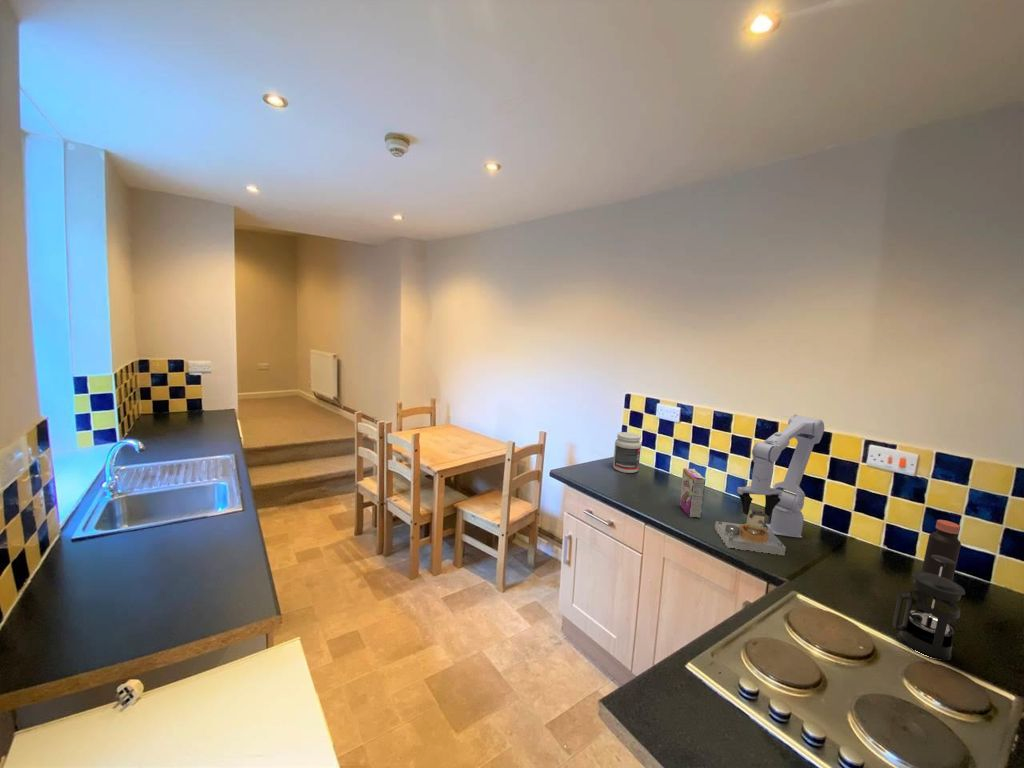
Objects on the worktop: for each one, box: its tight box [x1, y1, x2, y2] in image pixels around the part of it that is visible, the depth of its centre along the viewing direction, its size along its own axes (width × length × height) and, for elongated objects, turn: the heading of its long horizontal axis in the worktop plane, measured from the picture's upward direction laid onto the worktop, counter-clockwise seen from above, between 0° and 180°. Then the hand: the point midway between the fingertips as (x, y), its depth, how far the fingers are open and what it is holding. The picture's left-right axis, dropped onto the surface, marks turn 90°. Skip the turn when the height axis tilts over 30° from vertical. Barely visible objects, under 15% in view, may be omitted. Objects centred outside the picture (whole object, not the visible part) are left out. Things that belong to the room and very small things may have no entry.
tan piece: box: [745, 508, 767, 535], centre depth 148 cm, size 5×8×8 cm, turn 3°
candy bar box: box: [678, 468, 706, 519], centre depth 171 cm, size 11×5×16 cm, turn 179°
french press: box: [892, 555, 966, 661], centre depth 102 cm, size 12×9×23 cm
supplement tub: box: [612, 431, 642, 474], centre depth 217 cm, size 13×13×18 cm
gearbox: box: [714, 520, 787, 556], centre depth 150 cm, size 18×14×4 cm
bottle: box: [920, 519, 962, 582], centre depth 129 cm, size 7×7×20 cm
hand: (756, 514), depth 149 cm, fingers open, 7 cm apart
